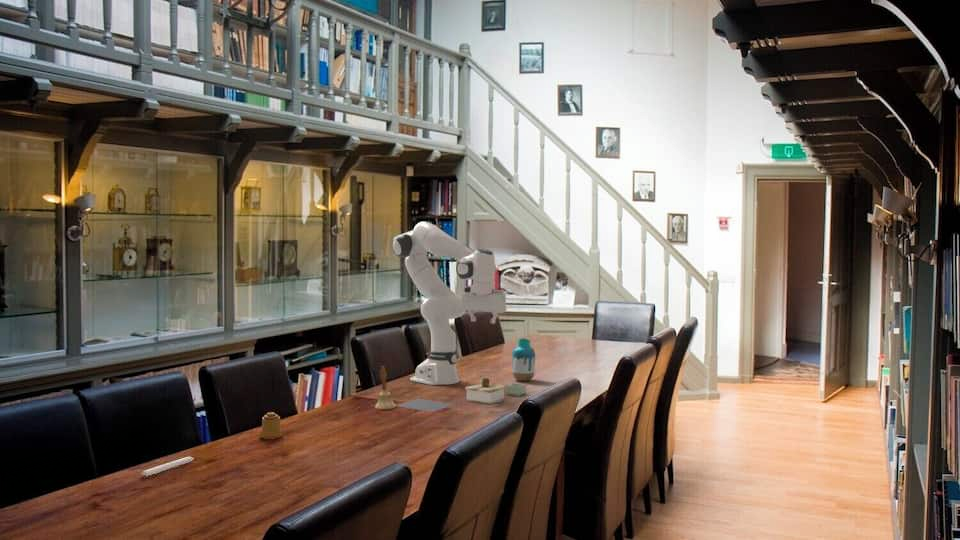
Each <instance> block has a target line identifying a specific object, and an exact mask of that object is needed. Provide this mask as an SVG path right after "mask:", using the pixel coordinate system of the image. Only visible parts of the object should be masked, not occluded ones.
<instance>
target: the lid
mask: <svg viewBox="0 0 960 540" xmlns="http://www.w3.org/2000/svg"><path fill="white" fill-rule="evenodd" d="M501 389H504V390H505V389H506V385H502V384H494V383H490V378H489V377H484V378H481V382H478V383H475V384H472V385H468V386H465V387H464V390H466V391H467V390H474V391H481V392H488V393H492V392H495V391H498V390H501Z"/></svg>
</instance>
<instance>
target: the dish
mask: <svg viewBox="0 0 960 540" xmlns="http://www.w3.org/2000/svg"><path fill="white" fill-rule="evenodd" d="M466 401H469V402H475V403H482V404H489V405H491V404H493V403H500V402H503V401H505V388H504V389H501V390H498V391H495V392H492V393H488V392H481V391H474V390H467V389H466Z"/></svg>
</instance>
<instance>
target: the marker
mask: <svg viewBox="0 0 960 540" xmlns="http://www.w3.org/2000/svg"><path fill="white" fill-rule="evenodd" d="M192 460H193V461H194V460H195V459H194V457H192V456H186V457H183V458H179V459H177V460H174V461H172V460H171V461H169V462H167V463H162V464H161V465H157V466H154V467H152V468H148V469H145V470H143V471H141V474H140V476H141V475H146V476H148V475H152V474H156V473H159V472H161V471H164V470H167V469H170V468H172V467H175V466H178V465H181V464H185V463H188V462H191V461H192ZM193 461H192V462H193ZM192 462H191V463H192ZM159 474H160V473H159ZM156 475H157V474H156Z"/></svg>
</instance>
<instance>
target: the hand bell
mask: <svg viewBox="0 0 960 540" xmlns="http://www.w3.org/2000/svg"><path fill="white" fill-rule="evenodd" d="M379 377H380V381H381V389H382V391H381V392H379V393H378V400H377V402H376V404H375V406H374V408H376V409H380V410H390V409H394V408H396V407H397V406H396V405H397V404H396V403H395V402H394V401H393V399H392V398H393V397H392V394H391V392H390V391H388V389H387V378H388V374H387V370H386V368H385V365H381V366H380V371H379Z"/></svg>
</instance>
